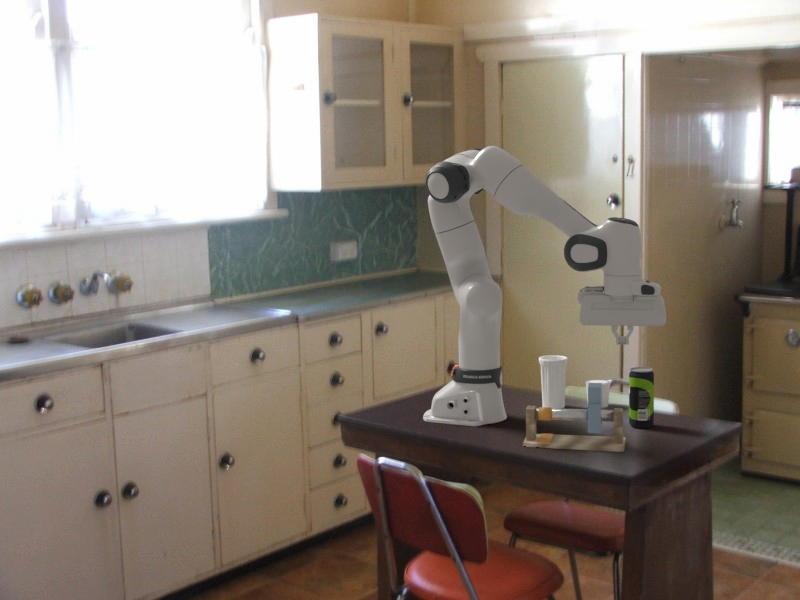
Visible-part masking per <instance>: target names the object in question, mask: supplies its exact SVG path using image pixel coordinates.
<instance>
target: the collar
mask: <svg viewBox="0 0 800 600" xmlns="http://www.w3.org/2000/svg"><path fill="white" fill-rule="evenodd" d="M587 409H588V421H587V433H588V434H601V433H602V429H603V422H602V421H601V410H603V408H602V383H589V386H588V401H587Z"/></svg>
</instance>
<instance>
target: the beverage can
mask: <svg viewBox="0 0 800 600" xmlns="http://www.w3.org/2000/svg"><path fill="white" fill-rule="evenodd" d="M654 406H655V373H654V369H653V368H651V367H647V366H646V367H644V366H638V367H637V366H635V367H632V368H630V372H629V373H628V423H629V425H630V426H631V428H634V429H639V430H641V429H645V430H646V429H650V428H652V427H653V425H654V424H655V423H654V422H655V421H654V420H655V417H654V416H655V414H654V411H655V407H654Z"/></svg>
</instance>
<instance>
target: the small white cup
mask: <svg viewBox="0 0 800 600" xmlns="http://www.w3.org/2000/svg"><path fill="white" fill-rule="evenodd" d="M589 383H602V409H604V408H608V407H609V403H610V401H609V400H610V389H611V381H609V380H606V379H588V380H586V381H585V388H586V390H585V391H586V399H587V401H586V402H588V386H589Z"/></svg>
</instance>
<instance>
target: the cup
mask: <svg viewBox="0 0 800 600" xmlns="http://www.w3.org/2000/svg"><path fill="white" fill-rule="evenodd" d="M568 360H569V359H568V357H567V356H566V355H565V356H564V355H557V354H556V355H555V354H550V355H549V354H548V355H542V356H541V355H540V356H539V357H538V364H539V365H540V379H541V381H540V382H541V384H540V385H541V399H542V400H541V403H542V404H541V405H542V406H541V407H552V408H558V409H565V407H566V385H567V384H566V382H567V364H568Z"/></svg>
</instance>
